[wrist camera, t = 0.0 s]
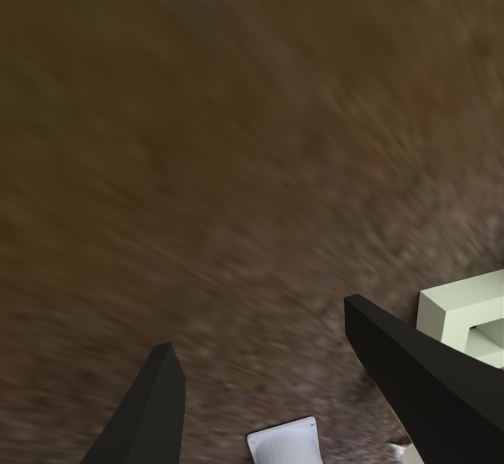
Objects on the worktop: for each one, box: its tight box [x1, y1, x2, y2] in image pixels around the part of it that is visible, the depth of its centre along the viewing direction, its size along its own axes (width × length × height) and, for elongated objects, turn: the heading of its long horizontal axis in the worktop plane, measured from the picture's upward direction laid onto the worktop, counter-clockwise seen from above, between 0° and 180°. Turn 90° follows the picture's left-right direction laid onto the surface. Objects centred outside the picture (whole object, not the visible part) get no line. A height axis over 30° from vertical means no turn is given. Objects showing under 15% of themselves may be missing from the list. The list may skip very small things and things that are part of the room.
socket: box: [416, 269, 504, 368], centre depth 26 cm, size 10×10×3 cm
